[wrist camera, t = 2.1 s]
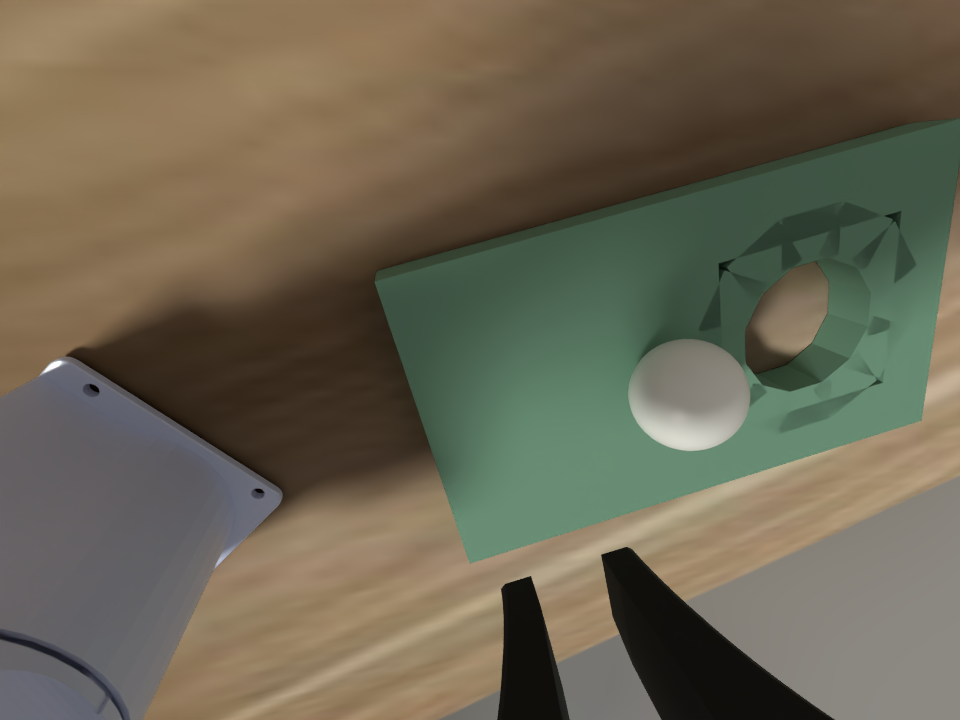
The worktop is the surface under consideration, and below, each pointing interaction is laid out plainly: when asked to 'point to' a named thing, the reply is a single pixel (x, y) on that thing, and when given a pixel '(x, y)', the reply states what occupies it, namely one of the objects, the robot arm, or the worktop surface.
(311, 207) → the worktop surface
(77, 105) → the worktop surface
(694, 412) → the ball
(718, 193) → the putting mat
